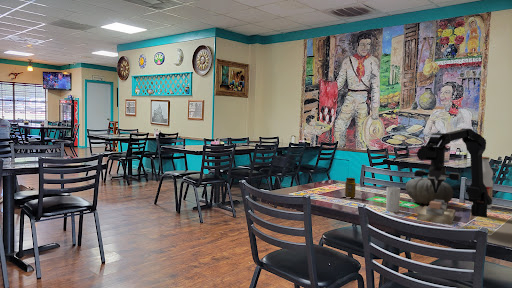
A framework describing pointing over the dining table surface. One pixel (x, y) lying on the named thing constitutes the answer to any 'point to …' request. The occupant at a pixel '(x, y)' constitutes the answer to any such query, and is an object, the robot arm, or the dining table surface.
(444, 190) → the gourd
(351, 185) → the condiment
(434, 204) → the salmon brown square block
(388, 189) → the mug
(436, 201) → the dark grey square block
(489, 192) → the fruit juice
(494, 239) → the dining table surface
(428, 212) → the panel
